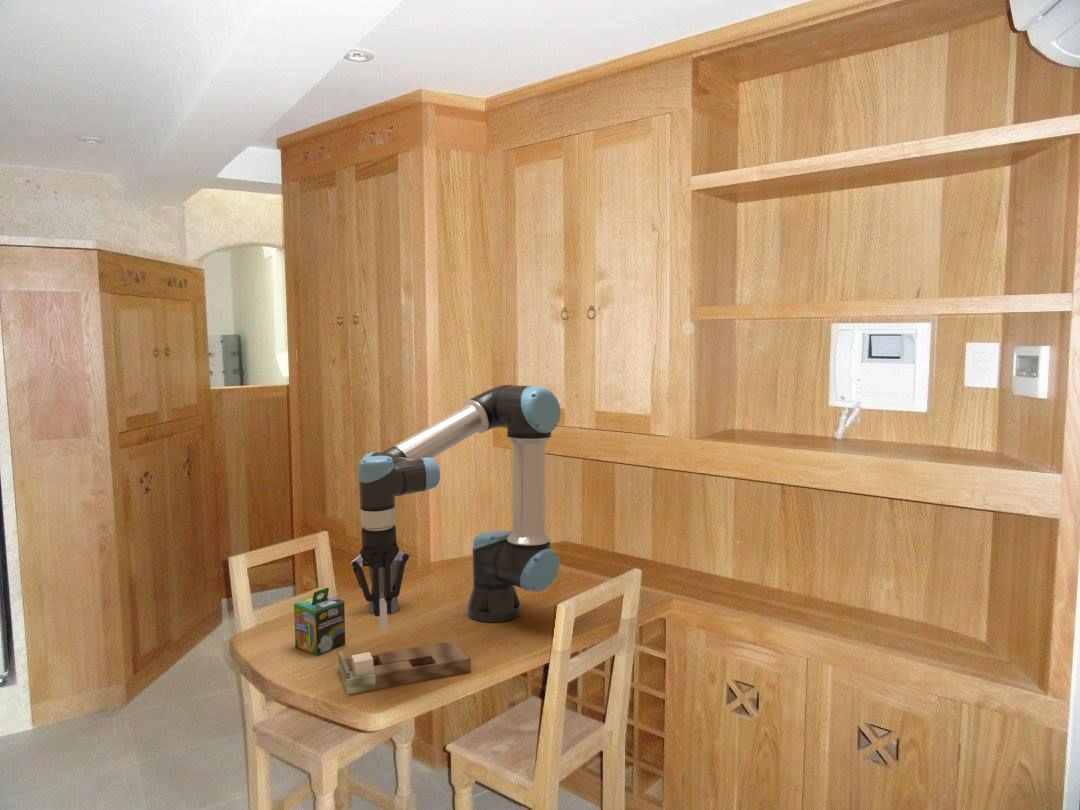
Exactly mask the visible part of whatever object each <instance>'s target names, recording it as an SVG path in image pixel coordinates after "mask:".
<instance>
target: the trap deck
mask: <svg viewBox="0 0 1080 810" xmlns="http://www.w3.org/2000/svg"><path fill="white" fill-rule="evenodd" d="M370 654H371V653H370ZM337 656H338V657H337V658H338V660H337V661H338V663H337V665H338V669H337V670H338V673H339V676H340V678H341V681H342V683H343V686H344V688H345V692H346V693H347V695H352V694H357V693H358V694H359V693H362V692H363V693H364V692H369V691H373V690H374V691H375V690H379V689H385V688H391V687H395V686H402V685H407V684H413V683H419V682H423V681H429V680H434V679H440V678H444V677H451V676H455V675H461V674H467V673H471V672H472V668H471V667H472V666H471V665H472V662H471V661H472V659H471V657H469V656H467V655H466V653H464V651H463V650H462V649H461V647H460V646H459V645H458V643H456V642H455V641H454V640H451V641H446V642H445V641H444V642H439V643H433V644H426V645H421V646H416V647H415V646H414V647H409V648H403V649H397V650H390V651H385V652H379V653H373V654H371V656H372V658H373V665H374V674H372V675H366V676H360V677H354V674H353V669H352V657H349V658H345V657H344V654H343V651H340V650H339V651H337Z"/></svg>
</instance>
